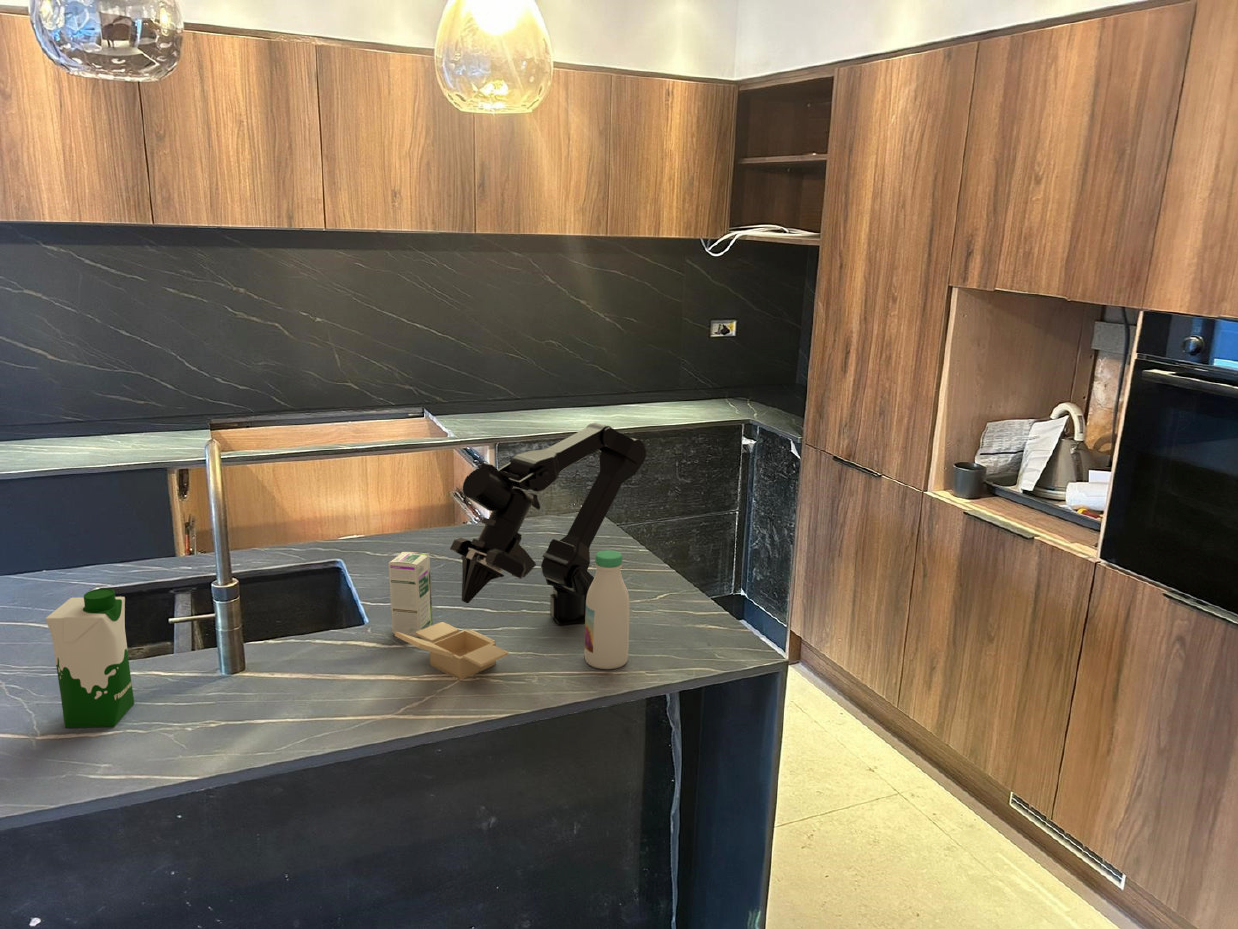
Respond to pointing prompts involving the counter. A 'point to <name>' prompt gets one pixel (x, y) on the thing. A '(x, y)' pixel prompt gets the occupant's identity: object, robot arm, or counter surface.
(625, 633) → the milk bottle
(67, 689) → the milk carton
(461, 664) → the carton
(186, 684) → the counter surface
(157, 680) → the counter surface
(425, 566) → the syrup box
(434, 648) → the back flap
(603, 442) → the robot arm
